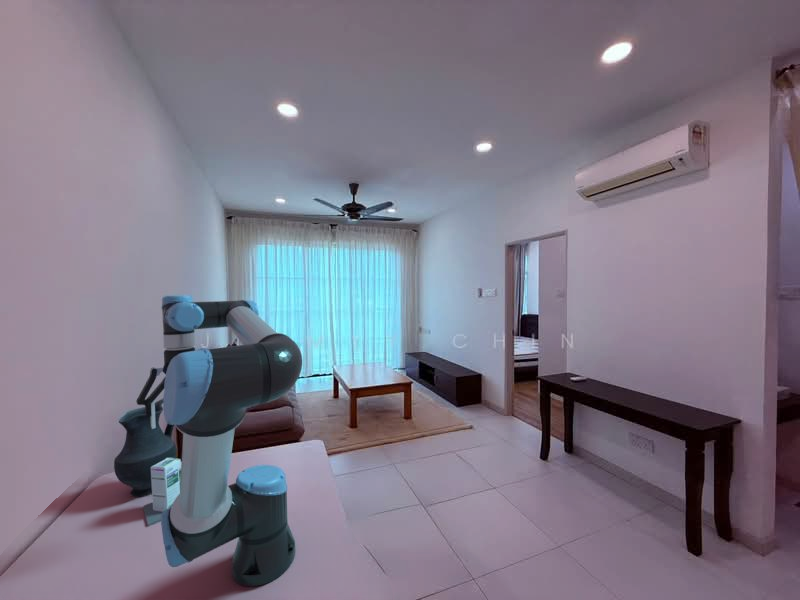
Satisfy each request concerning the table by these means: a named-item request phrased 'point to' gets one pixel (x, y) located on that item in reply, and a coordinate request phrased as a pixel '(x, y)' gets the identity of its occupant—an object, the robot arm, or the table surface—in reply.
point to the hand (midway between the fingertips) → (182, 419)
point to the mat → (151, 514)
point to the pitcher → (142, 449)
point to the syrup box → (165, 483)
